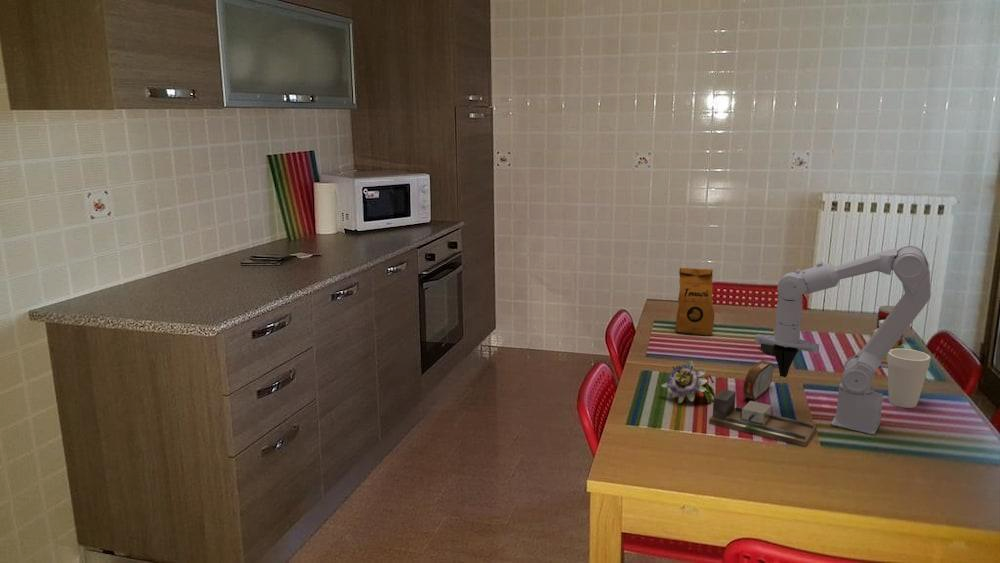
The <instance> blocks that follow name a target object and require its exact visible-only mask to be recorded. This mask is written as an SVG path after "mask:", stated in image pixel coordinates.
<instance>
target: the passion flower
mask: <svg viewBox="0 0 1000 563" xmlns="http://www.w3.org/2000/svg"><path fill="white" fill-rule="evenodd" d="M671 367H672V369H673V370H671V372H669V375H670V377H668V378H667V381H665V382H663V383H661V385H660V386H661V387H662V388H663V389H668V388H669V389H670V390H671V399H677V404H679V405H680V404H682V403H684V401H685V399H686V398H687V399H688V401H689V402H691V403H693V402H694V401H695V399H696V393H697V392H700V393H702V394H703V396H704V397H705V399H706V402H707V403H708V404H712V403H713V398H714V397H716V394H715V391H714V388H713V387H712V386H711V385H710V384H708V379H706V377H708V378H709V379H710V380H711V384H714V383H715V381H714V378H713V377H712V375H711V374H707V370H706V369H705V368H704V369H698V370H697V369H695V368H694V367H695V366H694V362H693V361H692V359H691V360H689V361H688V362H687V363H685V364H683V365H682V364H681V365H679V364H677V365H675V366H674V365H672V366H671ZM706 374H707V375H706ZM704 375H705V376H704Z"/></svg>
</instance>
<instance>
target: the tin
mask: <svg viewBox="0 0 1000 563" xmlns="http://www.w3.org/2000/svg"><path fill="white" fill-rule="evenodd" d="M773 372H774V364H773V362H770V361H767V360H764V359H761V360H760V361H758V362H757V363H756V364H754V365H753V366H751V367H750V369H748V371H747V373H746V376H745V379H744V383H743V387H742V394H743V397H744V398H747V399H751V400H757V399H758V398H759V397H760V396H762V395H763V394H765V393H766V392H767V391H768V389H769V388H770V386H771V383H772V380H773V379H772V378H773Z"/></svg>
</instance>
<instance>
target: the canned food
mask: <svg viewBox="0 0 1000 563" xmlns="http://www.w3.org/2000/svg"><path fill="white" fill-rule="evenodd" d="M895 306H896V305H882V306H879V308H878V314H877V322H876V323H877V324H876V329H878V328H879V321H880V320H885V319H886V318H887V316H888V315H889V314H890V312H891V311H892V310H893V308H894V307H895ZM903 338H904V333H903V334H902V336H901V337H900V338H899V342H898V346H899V345H901V344H902V343H903V341H904V340H903Z"/></svg>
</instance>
